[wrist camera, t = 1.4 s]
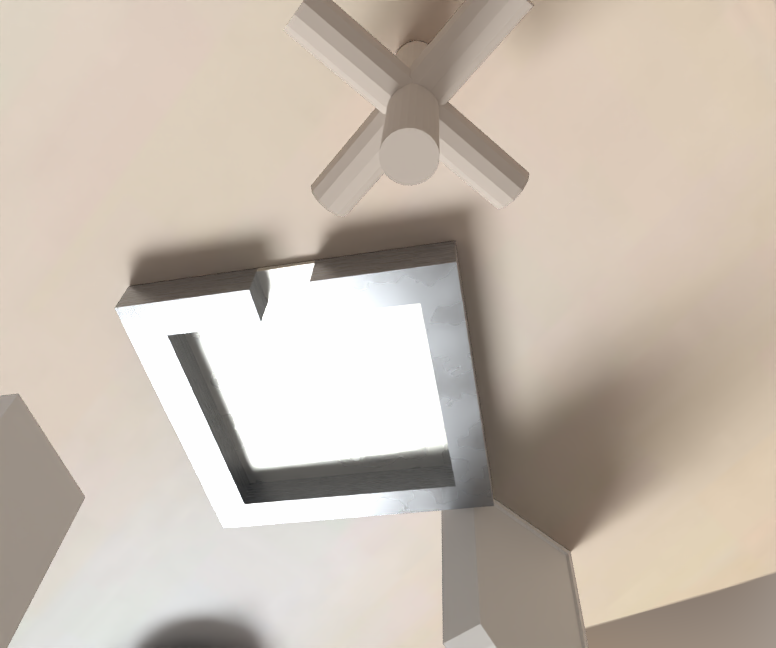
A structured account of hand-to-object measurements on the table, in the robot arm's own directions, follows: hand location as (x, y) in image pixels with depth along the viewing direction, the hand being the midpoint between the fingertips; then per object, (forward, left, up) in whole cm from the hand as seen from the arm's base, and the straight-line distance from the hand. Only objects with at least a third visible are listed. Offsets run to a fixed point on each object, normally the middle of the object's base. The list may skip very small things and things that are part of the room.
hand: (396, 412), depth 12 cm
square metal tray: (-8, -17, -21) cm, 28 cm away
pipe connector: (0, 0, -21) cm, 21 cm away
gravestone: (+1, -30, -21) cm, 37 cm away
